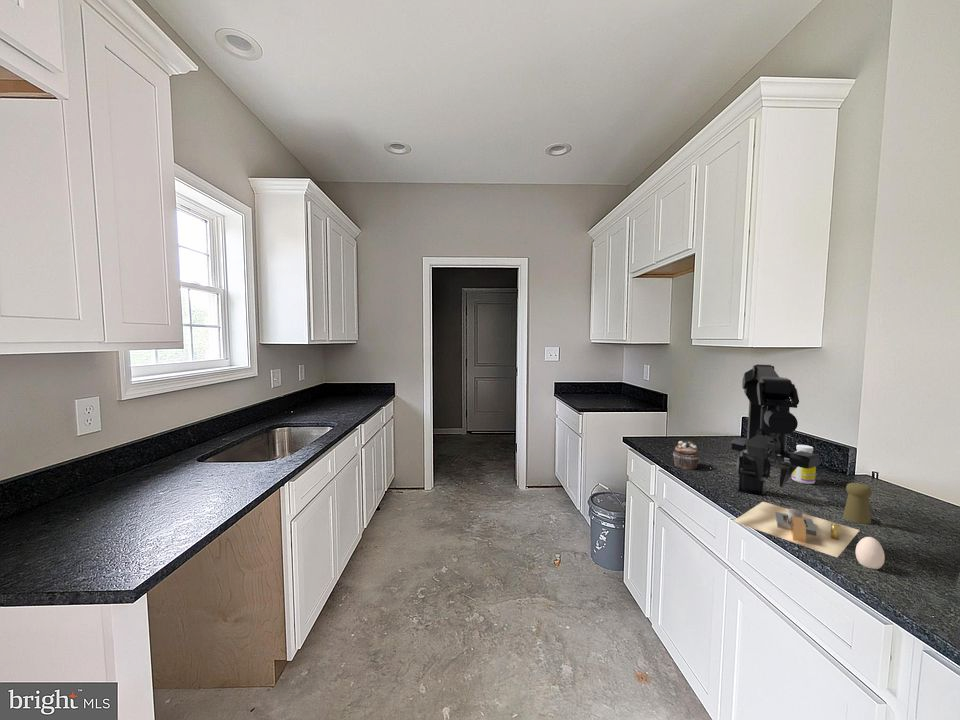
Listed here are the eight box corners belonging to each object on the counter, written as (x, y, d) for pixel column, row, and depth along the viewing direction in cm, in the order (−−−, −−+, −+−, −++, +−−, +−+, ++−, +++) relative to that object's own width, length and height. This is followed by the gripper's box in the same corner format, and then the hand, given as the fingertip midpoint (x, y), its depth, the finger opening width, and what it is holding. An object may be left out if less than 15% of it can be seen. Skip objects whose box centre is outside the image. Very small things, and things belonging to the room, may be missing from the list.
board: (732, 524, 109) (733, 507, 109) (762, 504, 122) (763, 488, 122) (837, 561, 91) (838, 540, 91) (859, 533, 104) (860, 515, 104)
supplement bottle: (819, 483, 140) (821, 447, 139) (807, 485, 138) (810, 449, 137) (798, 476, 146) (800, 443, 145) (786, 479, 144) (788, 444, 143)
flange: (775, 516, 112) (776, 502, 112) (811, 523, 108) (812, 509, 108) (779, 536, 101) (779, 521, 100) (820, 546, 96) (820, 530, 96)
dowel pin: (829, 537, 100) (830, 524, 100) (831, 535, 101) (832, 522, 101) (837, 540, 99) (838, 527, 99) (839, 538, 100) (840, 525, 100)
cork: (841, 515, 115) (843, 478, 114) (870, 521, 111) (872, 483, 110) (842, 523, 110) (845, 484, 110) (873, 530, 107) (875, 490, 106)
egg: (868, 563, 91) (870, 532, 91) (889, 575, 86) (892, 542, 86) (848, 563, 91) (850, 532, 90) (869, 575, 86) (871, 543, 86)
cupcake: (668, 462, 163) (669, 438, 162) (692, 462, 163) (693, 438, 162) (679, 469, 153) (679, 444, 153) (704, 470, 153) (705, 445, 152)
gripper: (719, 421, 109) (717, 476, 110) (798, 437, 92) (794, 502, 93) (743, 418, 114) (741, 470, 115) (822, 432, 97) (818, 494, 98)
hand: (770, 483), depth 105 cm, fingers open, 5 cm apart
